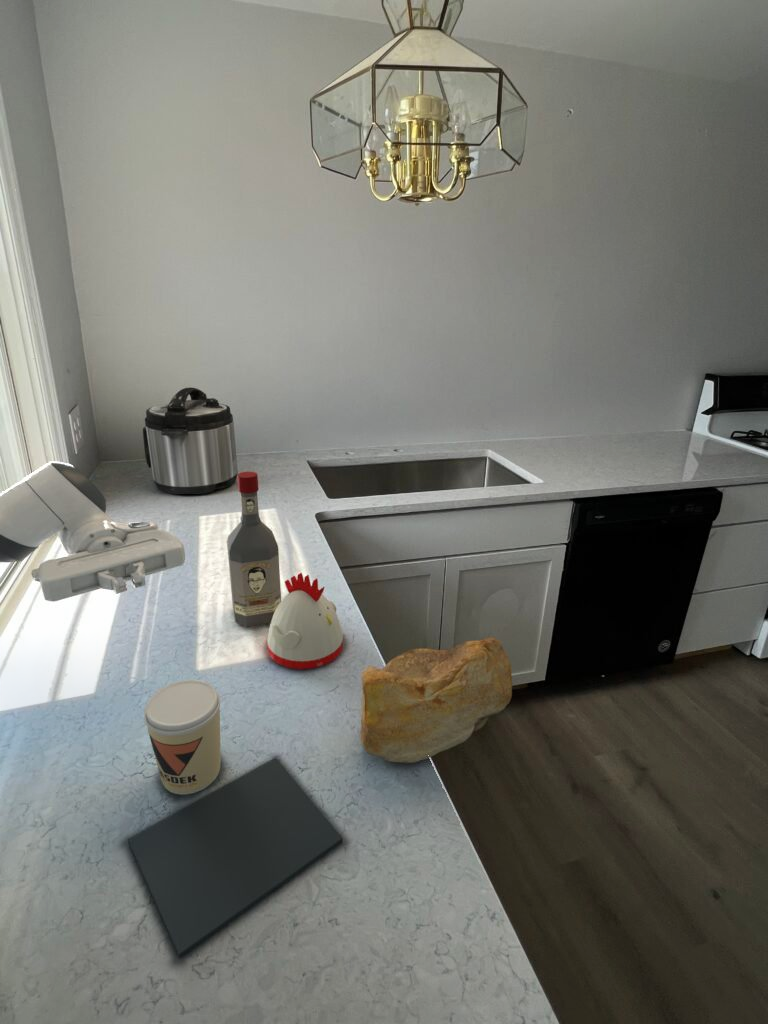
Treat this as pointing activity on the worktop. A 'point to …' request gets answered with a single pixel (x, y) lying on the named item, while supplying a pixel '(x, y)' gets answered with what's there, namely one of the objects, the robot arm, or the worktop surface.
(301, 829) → the slate mat
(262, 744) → the worktop surface
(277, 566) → the liquor
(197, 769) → the coffee cup
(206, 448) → the pressure cooker
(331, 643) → the kitchen timer
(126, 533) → the robot arm
